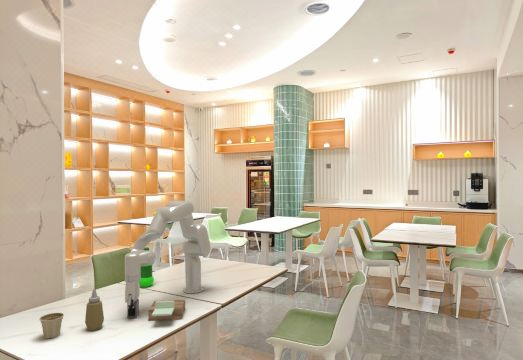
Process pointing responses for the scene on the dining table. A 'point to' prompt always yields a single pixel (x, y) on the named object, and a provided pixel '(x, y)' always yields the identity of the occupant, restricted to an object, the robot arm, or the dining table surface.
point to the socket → (177, 314)
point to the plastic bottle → (146, 274)
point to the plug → (135, 309)
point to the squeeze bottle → (94, 312)
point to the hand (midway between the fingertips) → (133, 313)
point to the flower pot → (51, 324)
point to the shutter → (163, 308)
